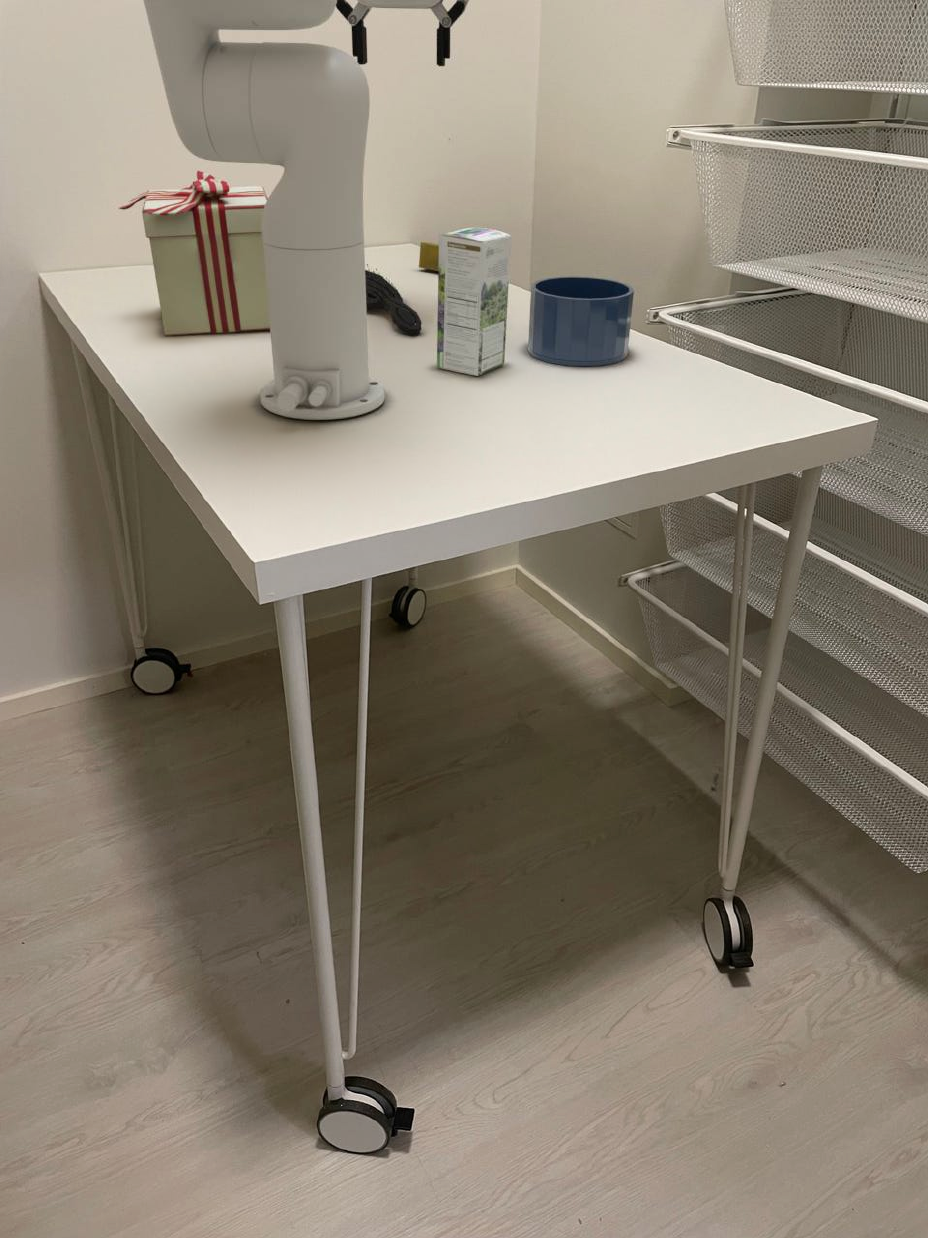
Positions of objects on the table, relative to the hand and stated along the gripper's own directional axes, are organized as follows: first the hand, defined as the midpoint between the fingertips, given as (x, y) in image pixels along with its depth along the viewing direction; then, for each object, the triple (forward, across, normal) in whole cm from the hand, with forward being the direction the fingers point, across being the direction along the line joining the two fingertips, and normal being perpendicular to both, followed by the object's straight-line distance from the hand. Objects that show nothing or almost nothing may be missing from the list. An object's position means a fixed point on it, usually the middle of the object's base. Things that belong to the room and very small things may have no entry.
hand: (401, 64), depth 119 cm
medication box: (+29, +4, +23) cm, 37 cm away
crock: (+29, +23, -17) cm, 41 cm away
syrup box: (+30, +11, -25) cm, 40 cm away
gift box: (+29, -24, -10) cm, 39 cm away
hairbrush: (+29, -2, -2) cm, 29 cm away
